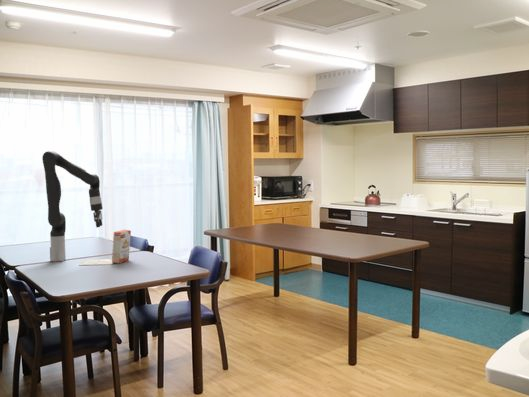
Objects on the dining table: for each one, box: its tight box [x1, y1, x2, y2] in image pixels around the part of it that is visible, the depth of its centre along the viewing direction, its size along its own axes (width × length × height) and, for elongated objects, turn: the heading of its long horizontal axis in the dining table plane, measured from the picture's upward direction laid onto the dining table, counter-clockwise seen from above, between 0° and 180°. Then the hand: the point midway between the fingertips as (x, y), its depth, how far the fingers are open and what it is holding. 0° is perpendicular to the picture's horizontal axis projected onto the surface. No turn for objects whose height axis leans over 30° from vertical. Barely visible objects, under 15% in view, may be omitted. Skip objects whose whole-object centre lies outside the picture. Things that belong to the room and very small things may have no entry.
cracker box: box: [111, 229, 132, 264], centre depth 333 cm, size 14×6×21 cm, turn 168°
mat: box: [78, 258, 114, 267], centre depth 332 cm, size 21×18×1 cm
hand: (99, 226), depth 338 cm, fingers open, 8 cm apart
